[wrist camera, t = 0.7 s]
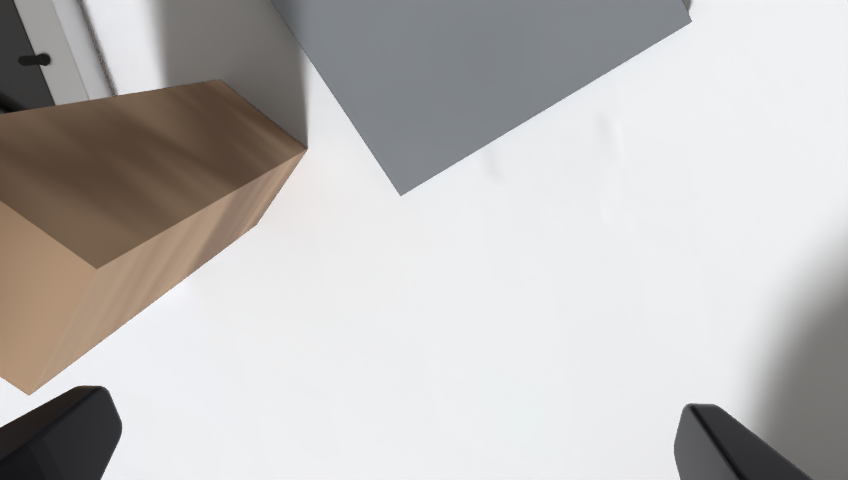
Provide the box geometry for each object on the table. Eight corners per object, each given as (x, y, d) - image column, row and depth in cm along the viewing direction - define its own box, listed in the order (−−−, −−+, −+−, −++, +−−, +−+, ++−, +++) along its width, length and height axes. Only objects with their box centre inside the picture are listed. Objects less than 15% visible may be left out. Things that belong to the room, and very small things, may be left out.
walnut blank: (307, 149, 22) (96, 269, 11) (256, 224, 23) (28, 395, 12) (219, 79, 21) (-99, 130, 10) (173, 162, 23) (-141, 282, 12)
